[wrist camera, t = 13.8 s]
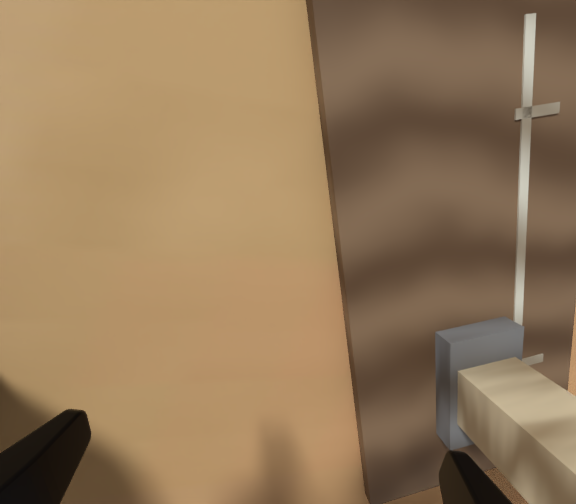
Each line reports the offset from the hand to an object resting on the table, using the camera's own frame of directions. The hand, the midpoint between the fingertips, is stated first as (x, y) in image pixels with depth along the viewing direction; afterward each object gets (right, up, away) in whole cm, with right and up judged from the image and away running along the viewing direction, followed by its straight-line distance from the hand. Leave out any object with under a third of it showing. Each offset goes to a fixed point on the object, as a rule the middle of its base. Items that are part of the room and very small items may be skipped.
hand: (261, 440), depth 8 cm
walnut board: (+12, +4, +13) cm, 18 cm away
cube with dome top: (+13, -4, +14) cm, 20 cm away
